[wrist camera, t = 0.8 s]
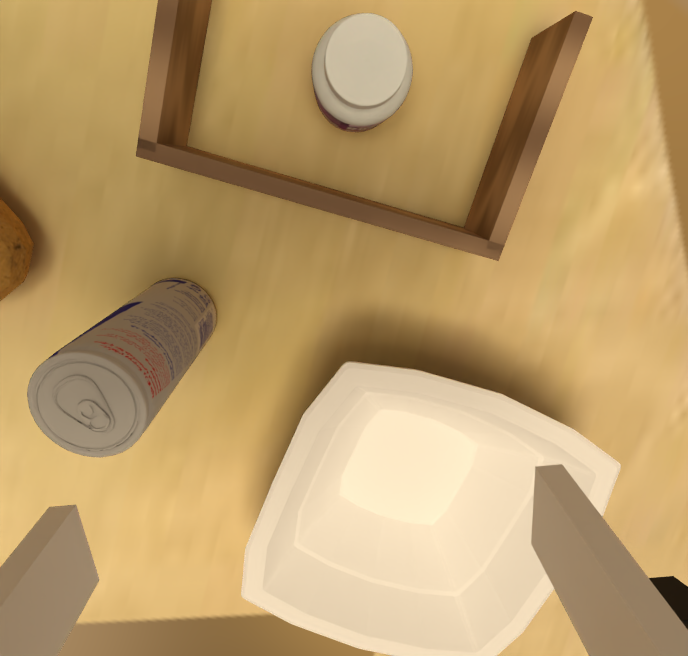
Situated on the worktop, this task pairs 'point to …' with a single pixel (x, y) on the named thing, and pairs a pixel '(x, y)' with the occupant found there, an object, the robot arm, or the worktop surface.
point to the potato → (13, 251)
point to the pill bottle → (361, 72)
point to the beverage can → (121, 369)
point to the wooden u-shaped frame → (476, 237)
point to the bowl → (412, 514)
